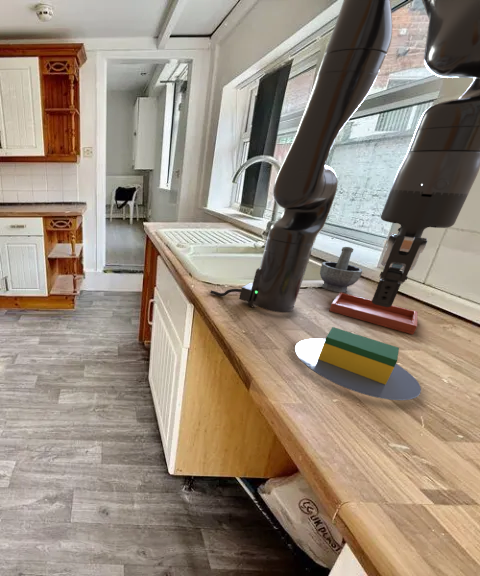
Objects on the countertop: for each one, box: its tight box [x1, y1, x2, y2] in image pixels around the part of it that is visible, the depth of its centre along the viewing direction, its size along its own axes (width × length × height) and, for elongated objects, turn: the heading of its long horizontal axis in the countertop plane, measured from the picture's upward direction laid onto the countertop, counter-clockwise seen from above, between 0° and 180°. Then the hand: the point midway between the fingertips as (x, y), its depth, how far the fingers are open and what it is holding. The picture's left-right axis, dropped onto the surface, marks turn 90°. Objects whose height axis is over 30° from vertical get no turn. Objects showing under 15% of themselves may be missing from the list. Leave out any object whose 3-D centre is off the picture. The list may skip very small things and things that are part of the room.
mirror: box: [294, 338, 422, 401], centre depth 53 cm, size 17×17×1 cm
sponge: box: [318, 326, 400, 384], centre depth 52 cm, size 9×6×4 cm, turn 45°
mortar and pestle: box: [319, 246, 363, 293], centre depth 90 cm, size 11×9×12 cm
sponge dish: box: [328, 292, 419, 335], centre depth 74 cm, size 15×11×2 cm
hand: (382, 297), depth 48 cm, fingers open, 8 cm apart
